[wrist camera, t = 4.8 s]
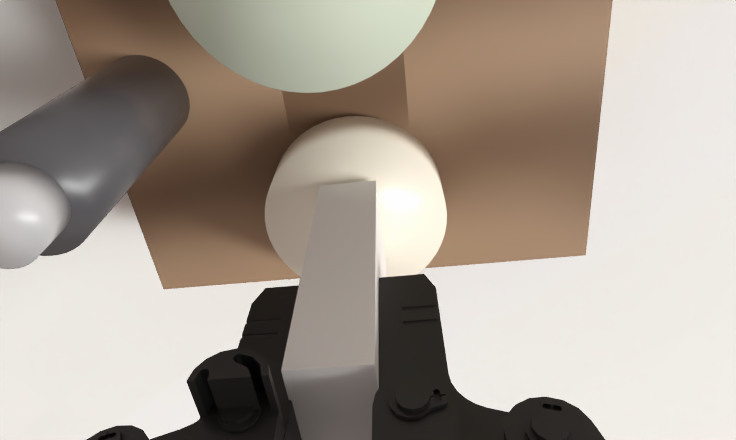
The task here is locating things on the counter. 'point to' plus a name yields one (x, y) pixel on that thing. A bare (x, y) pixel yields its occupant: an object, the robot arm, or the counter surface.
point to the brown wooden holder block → (382, 101)
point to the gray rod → (83, 155)
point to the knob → (358, 164)
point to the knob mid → (304, 38)
